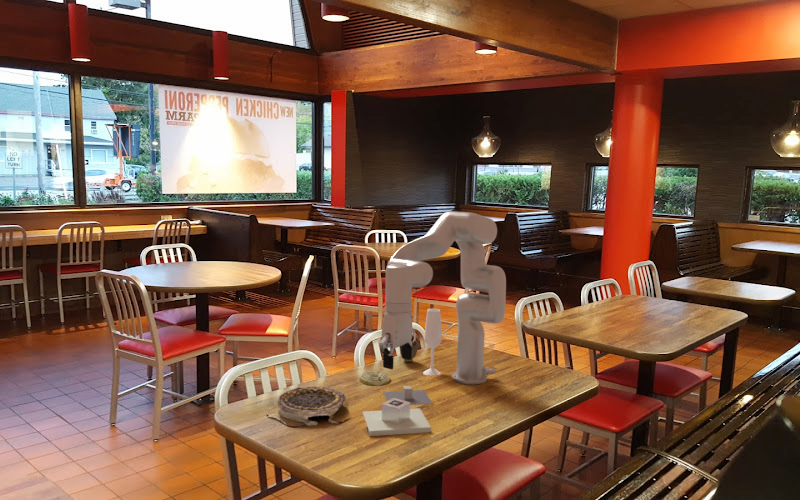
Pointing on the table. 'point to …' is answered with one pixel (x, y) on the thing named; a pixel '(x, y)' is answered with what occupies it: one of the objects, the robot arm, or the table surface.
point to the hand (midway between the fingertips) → (397, 363)
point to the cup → (414, 351)
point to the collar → (396, 411)
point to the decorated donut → (374, 378)
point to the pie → (309, 404)
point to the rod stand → (409, 396)
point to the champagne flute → (433, 336)
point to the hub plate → (381, 427)
